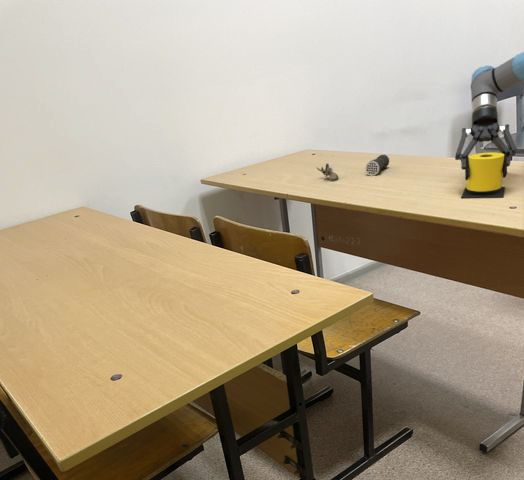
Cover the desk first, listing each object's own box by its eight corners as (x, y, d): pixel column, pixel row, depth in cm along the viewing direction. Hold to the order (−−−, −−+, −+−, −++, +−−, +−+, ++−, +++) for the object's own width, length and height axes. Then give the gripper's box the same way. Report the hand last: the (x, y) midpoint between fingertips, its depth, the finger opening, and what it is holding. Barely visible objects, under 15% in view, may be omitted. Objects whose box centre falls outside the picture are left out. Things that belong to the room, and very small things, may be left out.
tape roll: (484, 181, 171) (486, 151, 166) (508, 186, 163) (511, 154, 158) (459, 188, 168) (461, 157, 163) (482, 193, 160) (485, 160, 155)
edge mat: (505, 187, 168) (505, 186, 168) (503, 197, 159) (503, 196, 159) (465, 188, 173) (465, 187, 173) (460, 198, 164) (461, 197, 164)
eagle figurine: (312, 177, 212) (322, 176, 204) (319, 159, 211) (328, 158, 203) (328, 184, 215) (338, 184, 207) (334, 167, 214) (345, 166, 206)
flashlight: (377, 167, 219) (377, 153, 217) (390, 167, 217) (390, 153, 214) (365, 175, 208) (365, 161, 205) (379, 175, 205) (378, 161, 203)
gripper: (521, 118, 167) (524, 180, 161) (445, 125, 173) (445, 185, 167) (526, 101, 160) (529, 166, 154) (447, 109, 166) (447, 172, 160)
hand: (485, 176), depth 161 cm, fingers closed on tape roll, 10 cm apart
